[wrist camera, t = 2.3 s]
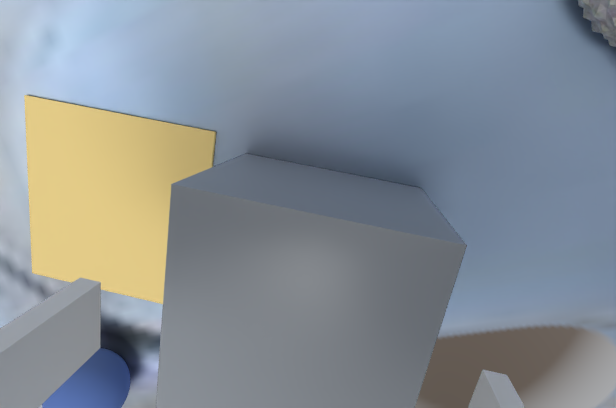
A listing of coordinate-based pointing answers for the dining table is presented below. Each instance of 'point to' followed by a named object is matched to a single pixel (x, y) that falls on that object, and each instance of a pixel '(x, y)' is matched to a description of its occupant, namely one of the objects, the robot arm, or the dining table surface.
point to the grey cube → (301, 288)
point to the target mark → (105, 193)
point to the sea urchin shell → (601, 17)
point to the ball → (94, 384)
